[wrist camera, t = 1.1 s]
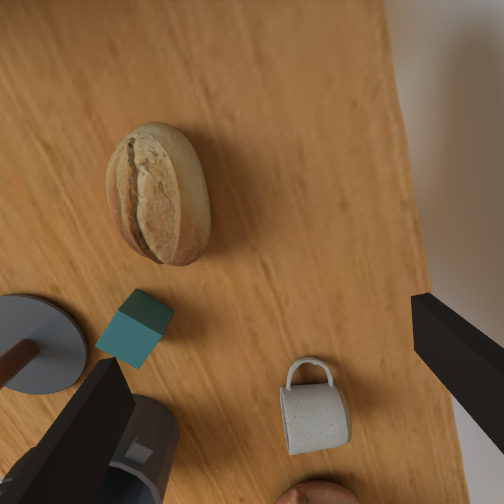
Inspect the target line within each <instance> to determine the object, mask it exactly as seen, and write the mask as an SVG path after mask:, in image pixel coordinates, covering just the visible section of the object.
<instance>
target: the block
mask: <svg viewBox="0 0 504 504" xmlns="http://www.w3.org/2000/svg"><path fill="white" fill-rule="evenodd" d="M173 313H174V310H172V309H170V308H169V307H167V306H165V305H164V304H162V303H160V302H158V301H157V300H155V299H153V298H152V297H150V296H148V295H147V294H145V293H143V292H142V291H140V290H138V289H135V290H134V291H133V293H132V294H131V295H130V296H129V297H128V298H127V300H126V301H125V302H124V303H123V304H122V305H121V307H120V308H119V309H118V310H117V312H116V313H115V315H114V316H113V318H112V319H111V321H110V323H109V324H108V326H107V327H106V329H105V330H104V332H103V334H102V335H101V337H100V338H99V340H98V341H97V343H96V344H95V347H97V348H99V349H101V350H103V351H105V352H107V353H108V354H110V355H112V356H114V357H116V358H118V359H120V360H122V361H124V362H125V363H127V364H129V365H131V366H133V367H135V368H137V369H139V368H140V366H141V365H142V364H143V362H144V361H145V359H146V358H147V357H148V355H149V354H150V352H151V351H152V350H153V348H154V347H155V345H156V344H157V343H158V341H159V340H160V338H161V337H162V336H163V333H164V331H165V329H166V327H167V325H168V323H169V321H170V319H171V317H172V315H173Z"/></svg>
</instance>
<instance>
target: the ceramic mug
mask: <svg viewBox="0 0 504 504" xmlns="http://www.w3.org/2000/svg"><path fill="white" fill-rule="evenodd" d="M302 363H312V364H314V365H319V366H321V367H323V368H324V369H325V371H326V373H327V377H328V383H322V384H311V385H291V380H292V376H293V374H294V372H295V370H296V369H297V368H298V367H299V365H301V364H302ZM280 401H281V410H282V418H283V425H284V431H285V437H286V442H287V447H288V452H289V454H290V455H295V454H300V453H306V452H312V451H317V450H323V449H328V448H334V447H339V446H342V445H344V444H347V443H348V442H349V441H350V440H351V437H352V423H351V417H350V412H349V408H348V405H347V402H346V399H345V396H344V394H343V392H342V390H341V389H340V388H339V387H338V386H337V385H335V384H333V378H332V375H331V372H330V370H329V369H328V367H327V366H326V365H325V364H324V363H323V362H322V361H321V360H319V359H317V358H315V357H303V358H300V359H298V360H296V361H295V362H294V363H293V364H292V365H291V367H290V369H289V372H288V376H287V385H286V386H282V387H280Z"/></svg>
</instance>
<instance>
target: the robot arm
mask: <svg viewBox="0 0 504 504" xmlns="http://www.w3.org/2000/svg"><path fill="white" fill-rule="evenodd" d="M411 307H412V322H413V338H414V351H415V352H416V353H417V354H418V355H419V356H420V358H421V359H422V360H423V361H424V362H425V363H426V364H427V366H428V367H429V368H430V369H431V370H432V371H433V373H434V374H435V375H436V376H437V377H438V378H439V380H440V381H441V382H442V383H443V384H444V385H445V387H446V388H447V389H448V390H449V391H450V392H451V394H452V395H453V396H454V397H455V398H456V399H457V401H458V402H459V403H460V404H461V405H462V406H463V407H464V409H465V410H466V411H467V412H468V413H469V414H470V416H471V417H472V418H473V419H474V420H475V422H476V423H477V424H478V425H479V426H480V427H481V428H482V430H483V431H484V432H485V433H486V434H487V436H488V437H489V438H490V439H491V440H492V441H493V443H494V444H495V445H496V446H497V447H498V448H499V450H500V451H501V452H502V453H503V454H504V348H502V347H501V346H500V345H498V344H497V343H496V342H494V341H493V340H492V339H490V338H489V337H488V336H486V335H485V334H484V333H482V332H481V331H480V330H478V329H477V328H476V327H474V326H473V325H472V324H470V323H469V322H468V321H466V320H465V319H464V318H462V317H461V316H459V315H458V314H457V313H456V312H454V311H453V310H452V309H450V308H449V307H448V306H446V305H445V304H444V303H442V302H441V301H440V300H438V299H437V298H436V297H434V296H433V295H432V294H430V293H425V294H420V295H415V296H411ZM135 406H136V402H135V400H134V398H133V396H132V393H131V391H130V389H129V387H128V384H127V382H126V380H125V378H124V375H123V373H122V371H121V369H120V366H119V364H118V362H117V360H116V357H113V358H108V359H103V360H99V361H98V362H97V364H96V365H95V367H94V368H93V369H92V371H91V372H90V373H89V375H88V376H87V378H86V379H85V380H84V382H83V383H82V384H81V386H80V387H79V388H78V390H77V391H76V393H75V394H74V395H73V397H72V398H71V399H70V401H69V402H68V403H67V405H66V406H65V408H64V409H63V410H62V412H61V413H60V414H59V416H58V417H57V419H56V420H55V421H54V423H53V424H52V425H51V427H50V428H49V429H48V431H47V432H46V434H45V435H44V436H43V438H42V439H41V440H40V442H39V443H38V444H37V446H36V447H32V448H31V449H30V450H29V451H28V452H27V453H26V454H25V455H23V456H22V457H21V458H20V459H19V460H18V461H17V462H16V463H15V464H14V466H13V467H12V468H11V469H10V471H9V472H8V473H7V475H6V476H5V477H4V479H3V480H2V484H0V504H92V502H93V500H94V497H95V495H96V493H97V491H98V488H99V486H100V484H101V482H102V480H103V477H104V475H105V473H106V471H107V469H108V466H109V464H110V462H111V460H112V457H113V455H114V453H115V451H116V449H117V446H118V444H119V442H120V440H121V437H122V435H123V433H124V431H125V429H126V426H127V424H128V422H129V420H130V417H131V415H132V413H133V411H134V409H135Z"/></svg>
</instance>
